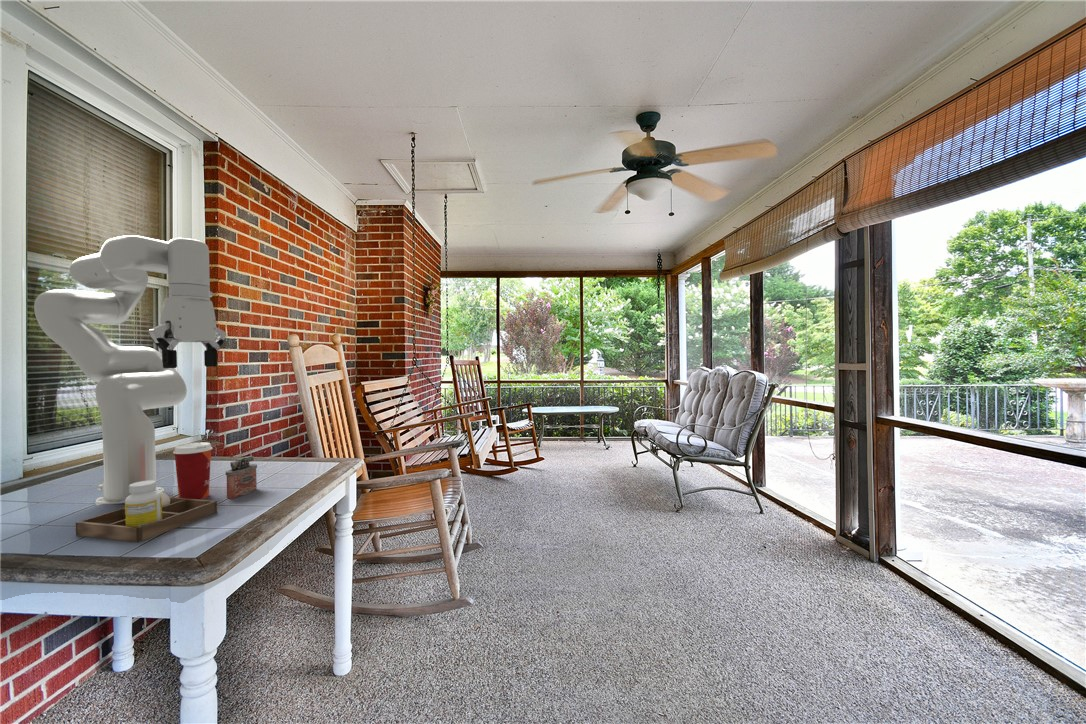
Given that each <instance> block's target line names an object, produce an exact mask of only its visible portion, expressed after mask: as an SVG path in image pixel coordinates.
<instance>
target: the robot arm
mask: <svg viewBox="0 0 1086 724" xmlns="http://www.w3.org/2000/svg"><path fill="white" fill-rule="evenodd" d="M148 272H150V273H151V272H152V273H156V274H157V273H159V274H165V275H167V279H168V280H167V281H168V297H165V298H164V301H163V304H162V308H161V315H160V323H159V325H157V326H154V327H152V328H150V329H148V333H149V335H150V337H151V339H152V341H153V343H154V344H155V345H156V346H157V348H158V350H160V351H161V352H160V351H158V350H157V349H155V348H152V347H149V346H142V345H141V346H136V345H134V346H131V345H126V346H125V345H119V344H115V343H114V342H113V341H112V340H111V339H110V338H109V336H107V335H106V333H104V332H103V331H101V330H100V329H98V328H96V327H93V326H92V324H94V325H95V324H97V325H120V324H123V323H125V322H126V321H127V320H128V319H130V317H131V315H132V313H133V312H134V310H135V308H136V306H137V305H138V303H139V302H140V300H141V298H142V297H143V295H144V293H145V291H146V289H147V287H148V282H149V275H148ZM69 274H70V277H71V278H72V280H74V282H76V283H77V284H79V285H81V286H82V287H85V288H88V289H92V290H93V289H94V290H100V291H110V292H111V293H108V292H97V291H87V290H78V289H77V290H76V289H75V290H74V289H51V290H48V291H44V292H42V293H40V294H39V295H38V296H37V297H36V298H35V300H34V304H33V306H34V307H33V311H34V314H35V315H34V316H35V318H36V321H37V323H38V325H39V327H40V329H41V331H43V333H45V335H46V336H47V337H48V338H49V339H50V340H52V341H53V342H55V344H57V345H58V346H59V347H60V348H62V349H63V350H64V351H65V352H66V353H67V355H68V356H69V358H71V360H73V362H74V363H75V364H76V365H77V367H78V368H79V369H80V370H81V372H83V374H84V375H85V376H86V377H87V378H89V380H91V381H92V382H95V383H97V384H96V386H95V389H94V390H95V391H94V392H95V399H96V403H97V406H98V410H99V413H100V419H101V421H100V422H101V431H102V432H101V433H102V435H101V436H102V453H103V454H102V457H103V460H102V461H103V482H102V484H98V486H96V487H97V488H96V489H97V491H102V496H100V497H98V498H96V499H95V506H100V505H117V504H125V499H126V498H127V497H128V496H130V495H131V493H129V492H130V491H129V485H130V484H133V483H136V482H141V481H148V480H154V481H156V482H157V470H156V469H157V466H156V465H157V464H156V461H157V460H156V457H157V456H156V431H155V425H154V423H153V421H152V420H151V419H150V417H148V415H146V414H145V412H144V411H146V410H152V409H163V408H169V407H174V406H177V405H179V404H181V403H182V402H183V401H184V400H185V398H186V396H187V390H188V389H187V385H186V382H185V380H184V378H183V377H182V376H181V374H180V373H179V372H178V371H177V369H176V368H178V358H177V357H178V351H177V350H176V349H175V348H176V346H177V345H178V344H179V343H201V344H202V345H203V346H204V347H205V350H204V352H203V354H204V355H203V358H204V359H203V360H204V362H203V363H204V366H205V367H206V368H207V367H209V368H211V367H212V368H213V367H214V368H215V367H216V368H217V367H218V362H219V361H218V351H219V350H220V349H221V346H222V345H223V344H224V343H225V341H224V340H225V339H226V337H227V332H226V331H224V330H222V329H220V328H219V327H217V319H216V313H215V308H214V305H213V301H212V300H211V298H212V297H213V295H214V293H213V291H211V287H210V285H211V284H210V282H211V281H210V250H209V246H208V245H207V244H206V243H205V242H203V241H201V240H197V239H193V238H186V237H185V238H184V237H183V238H182V237H176V238H172V239H170V240H169V241H165V240H162V239H161V240H160V239H155V238H150V237H146V236H141V235H133V234H131V235H129V234H128V235H122V236H116V237H113V238H109V239H107V240H105V242H104V243H103V244H102V247H101V249H100V251H99V252H97V253H93V254H89V255H85V256H81V257H79V258H77V259H75V260H74V261H72V263H71V265H70V266H69ZM89 324H90V325H89ZM155 491H158V492H163V493H165V489H164V488H163V487H160V486H156V489H155Z"/></svg>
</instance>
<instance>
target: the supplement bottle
mask: <svg viewBox="0 0 1086 724" xmlns="http://www.w3.org/2000/svg"><path fill="white" fill-rule="evenodd" d="M156 487H157V480H156V481H154V480H148V481H141V482H136V483H133V484H130V485H129V491H130V492H129V493H131V495H130V496H128V497H127V498H126V499H125V503H124V507H125V519H126V526H130V527H143V526H145V525H148V524H151V523H154V522H157V521H159V520H162V503H161V493H160V492H158V491H155V489H156Z"/></svg>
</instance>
